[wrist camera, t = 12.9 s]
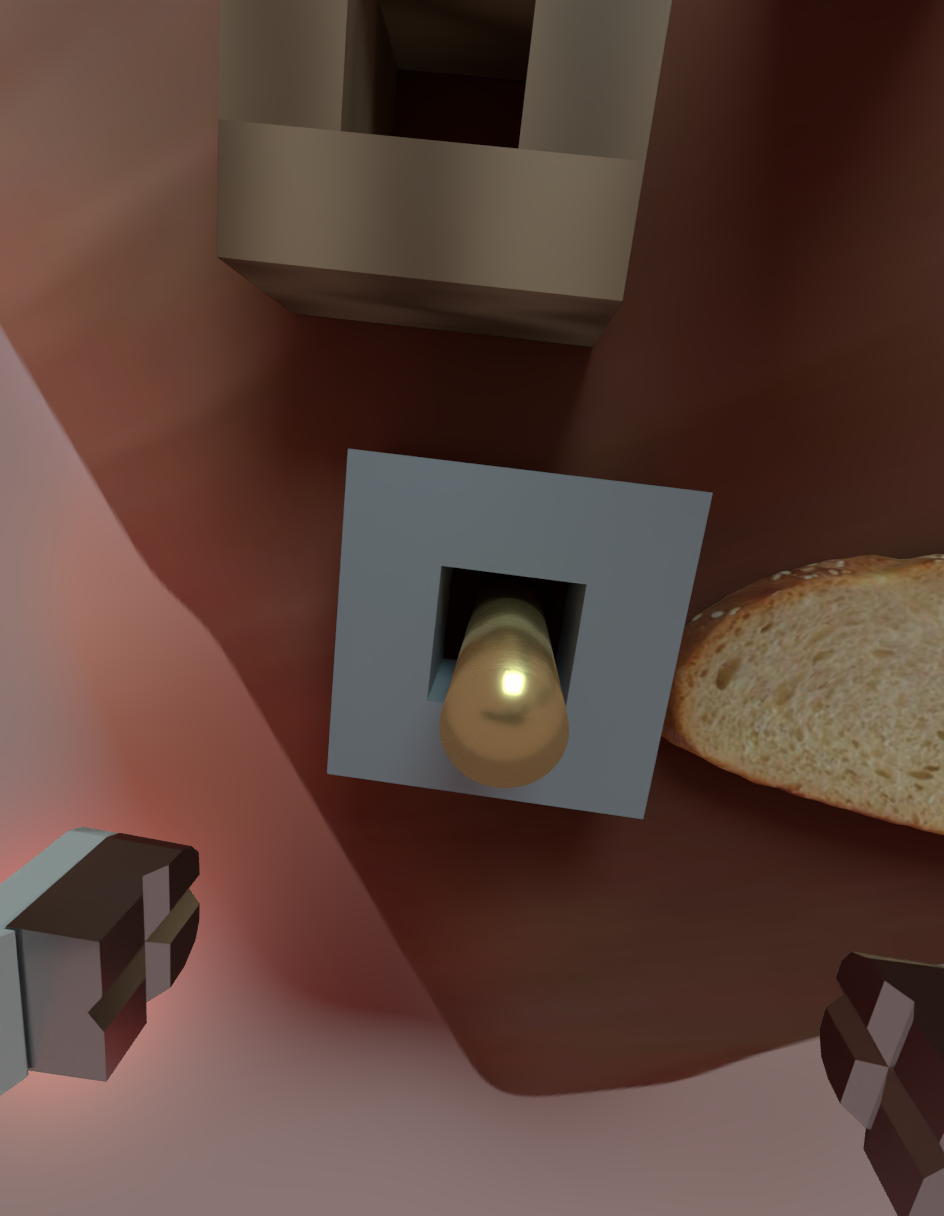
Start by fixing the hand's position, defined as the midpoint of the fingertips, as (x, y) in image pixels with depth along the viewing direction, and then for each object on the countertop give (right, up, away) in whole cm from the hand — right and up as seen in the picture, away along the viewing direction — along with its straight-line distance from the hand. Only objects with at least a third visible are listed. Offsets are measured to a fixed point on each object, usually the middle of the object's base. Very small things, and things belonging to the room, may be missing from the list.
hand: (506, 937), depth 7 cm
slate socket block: (+1, +4, +18) cm, 18 cm away
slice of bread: (+18, 0, +18) cm, 26 cm away
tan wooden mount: (-1, +21, +14) cm, 25 cm away
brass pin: (+1, +4, +18) cm, 18 cm away
